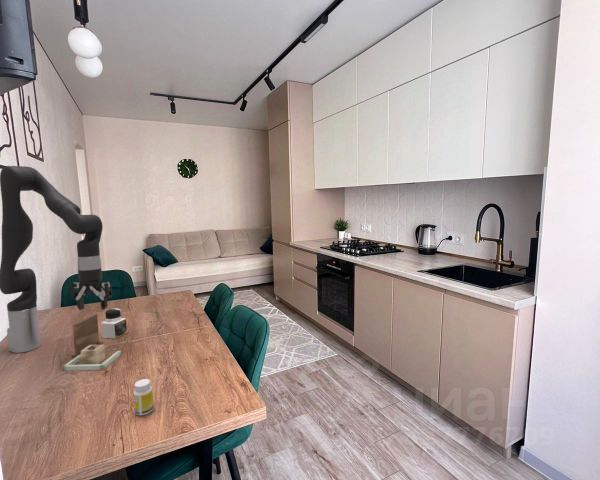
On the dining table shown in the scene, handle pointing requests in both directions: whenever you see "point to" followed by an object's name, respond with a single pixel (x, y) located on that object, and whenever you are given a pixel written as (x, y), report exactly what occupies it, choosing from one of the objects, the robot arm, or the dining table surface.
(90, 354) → the letter cube
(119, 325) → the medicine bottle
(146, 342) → the dining table surface
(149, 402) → the supplement bottle
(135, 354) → the dining table surface
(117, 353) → the bay
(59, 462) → the dining table surface
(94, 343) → the screen
